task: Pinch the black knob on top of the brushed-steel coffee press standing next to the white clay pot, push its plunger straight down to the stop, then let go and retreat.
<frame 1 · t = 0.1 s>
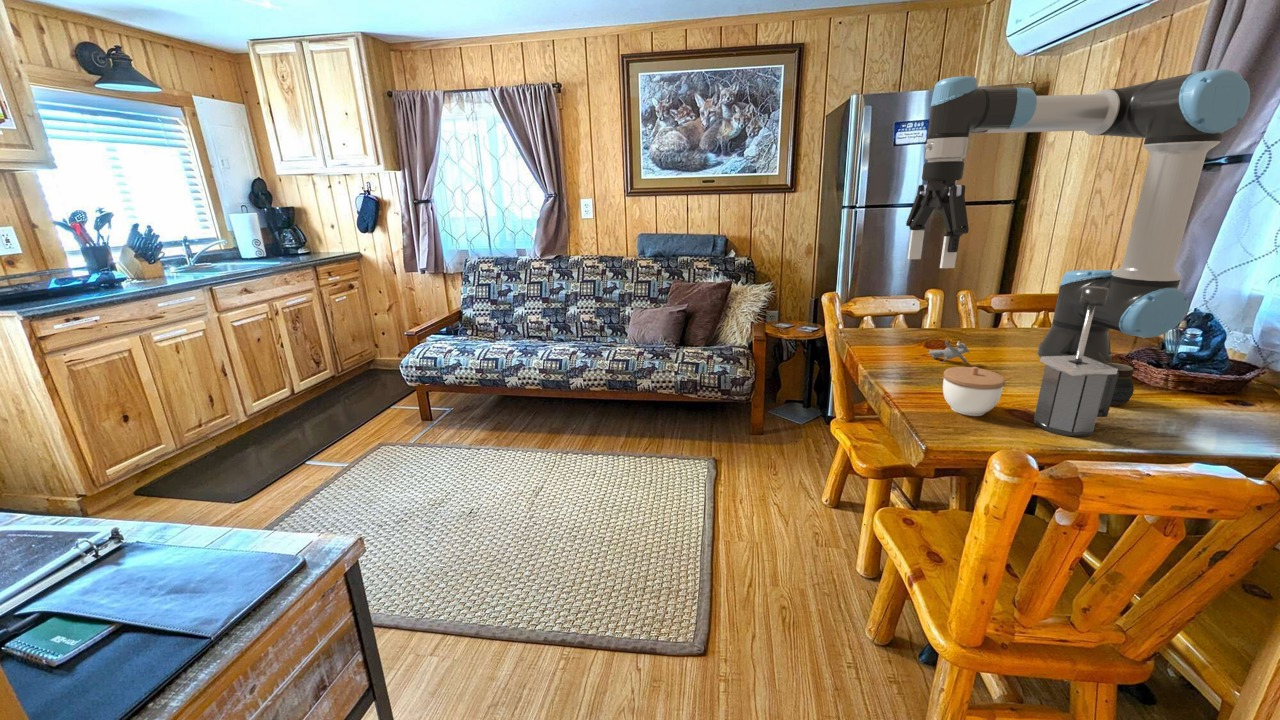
hand: (929, 263, 120), 28 cm above the table, fingers open, 13 cm apart
plunger: (1084, 337, 99), point 18 cm above the table, slide at 0.0 cm
grey animal figurine: (946, 363, 141), on the table
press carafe: (1062, 426, 104), on the table
lidded jar: (967, 411, 113), on the table
mate gourd: (1106, 402, 115), on the table
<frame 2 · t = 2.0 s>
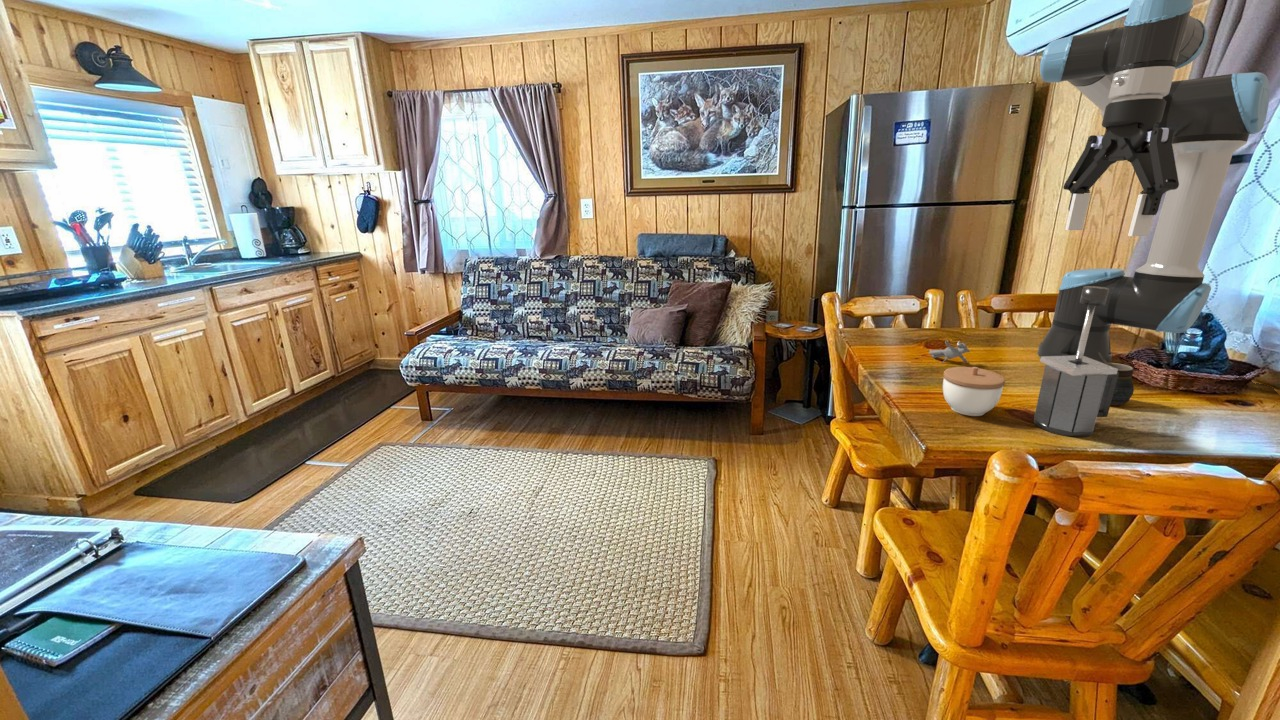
hand: (1103, 233, 95), 36 cm above the table, fingers open, 13 cm apart
nothing on the table moved.
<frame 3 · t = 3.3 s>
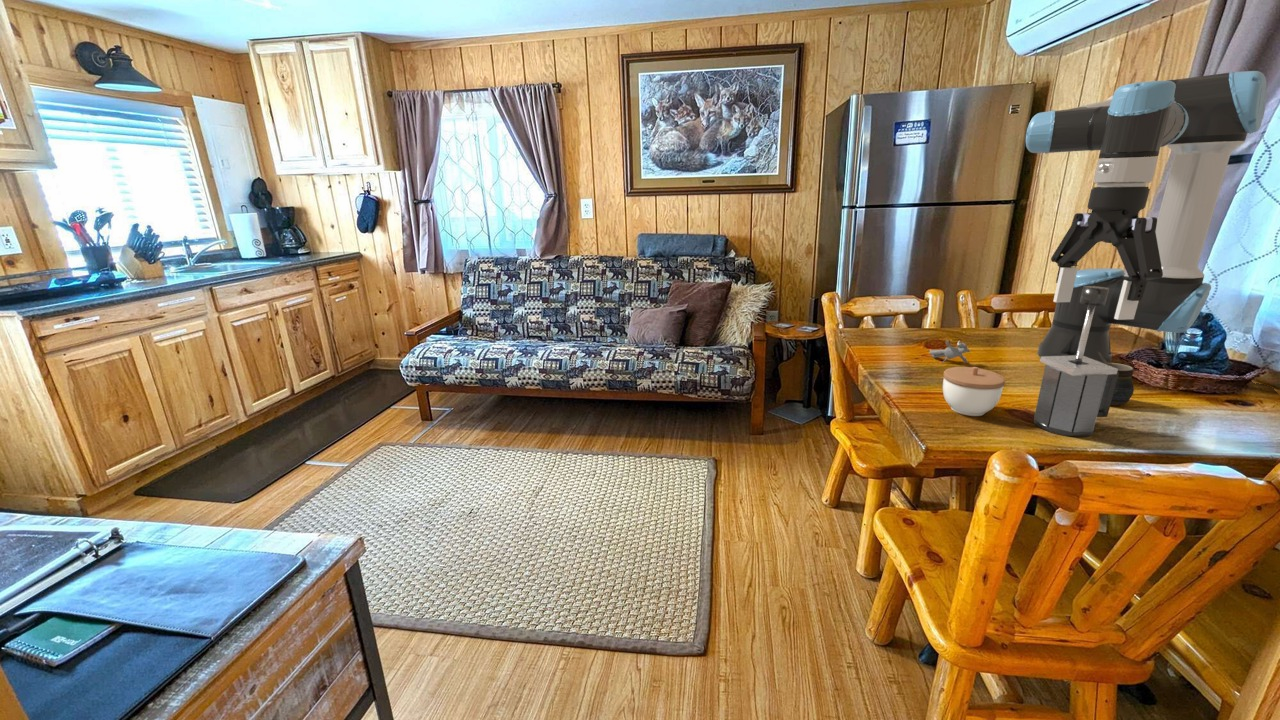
hand: (1090, 310, 97), 23 cm above the table, fingers open, 13 cm apart
nothing on the table moved.
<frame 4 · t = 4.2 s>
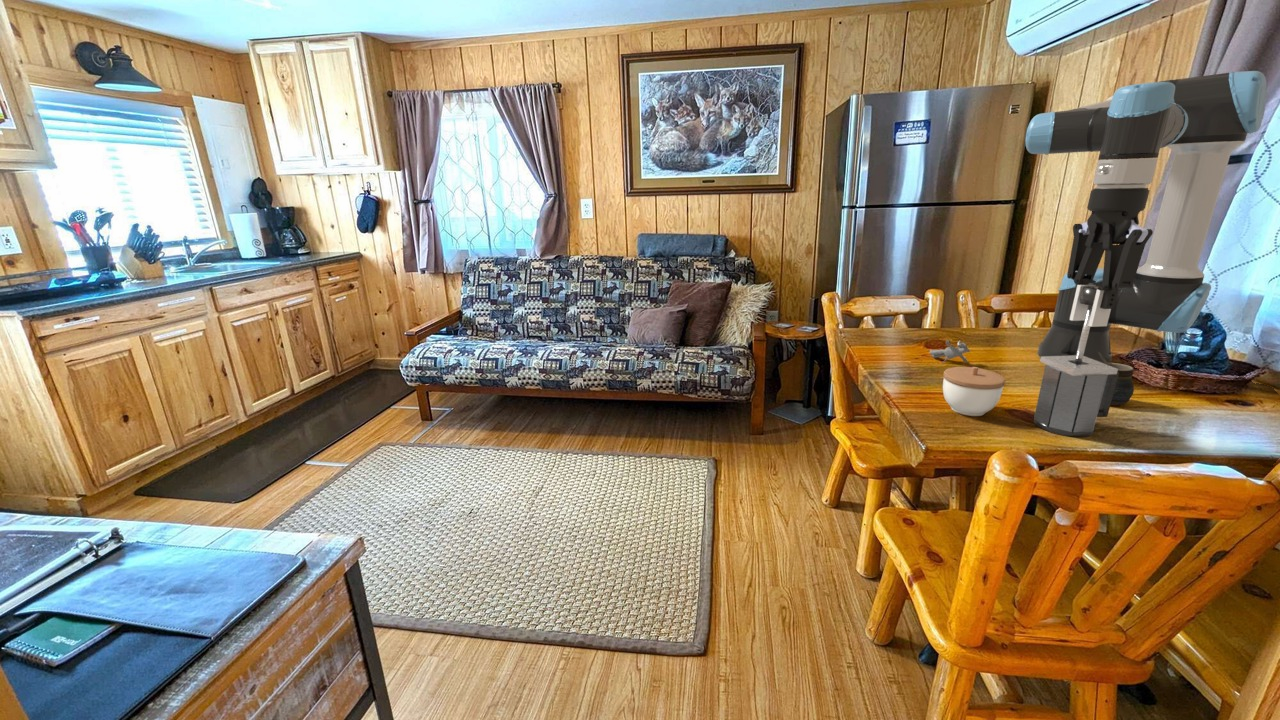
hand: (1087, 322, 98), 21 cm above the table, fingers closed on plunger, 4 cm apart
plunger: (1084, 337, 99), point 18 cm above the table, slide at 0.0 cm, touching gripper
everything else where it was.
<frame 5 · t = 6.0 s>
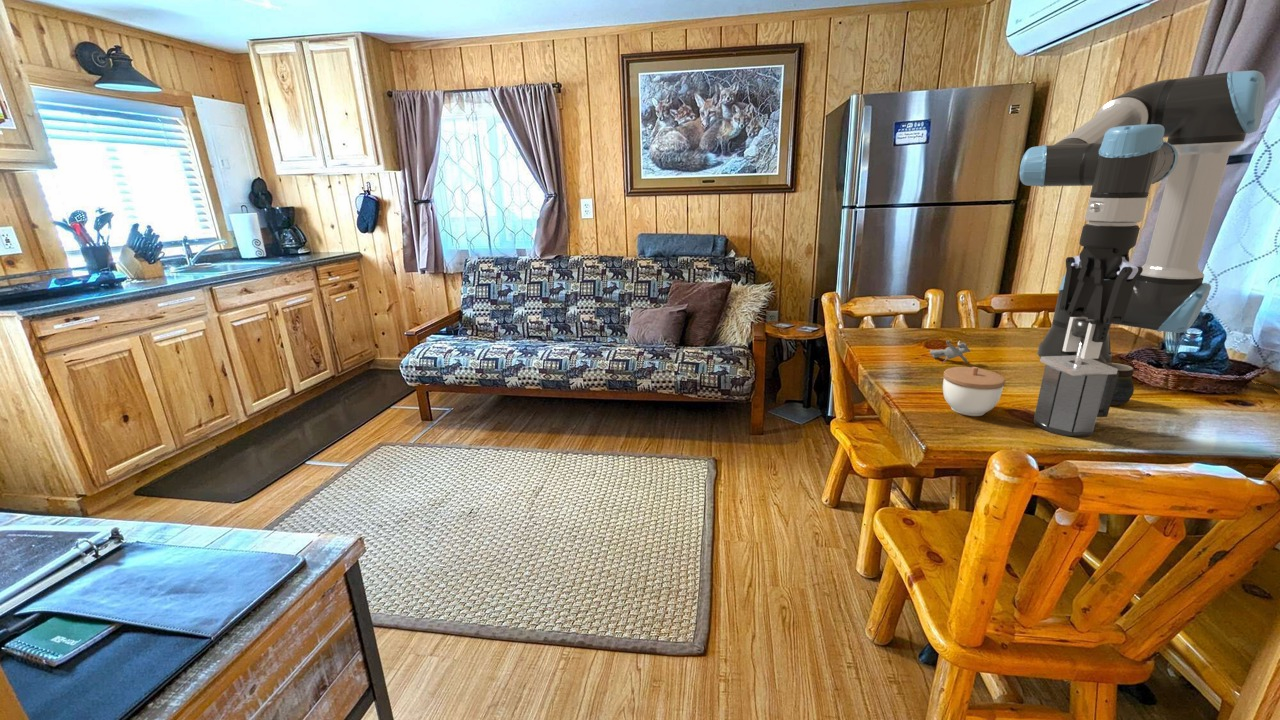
hand: (1080, 354, 100), 15 cm above the table, fingers closed on plunger, 4 cm apart
plunger: (1076, 368, 101), point 12 cm above the table, slide at 6.0 cm, touching gripper
everything else where it was.
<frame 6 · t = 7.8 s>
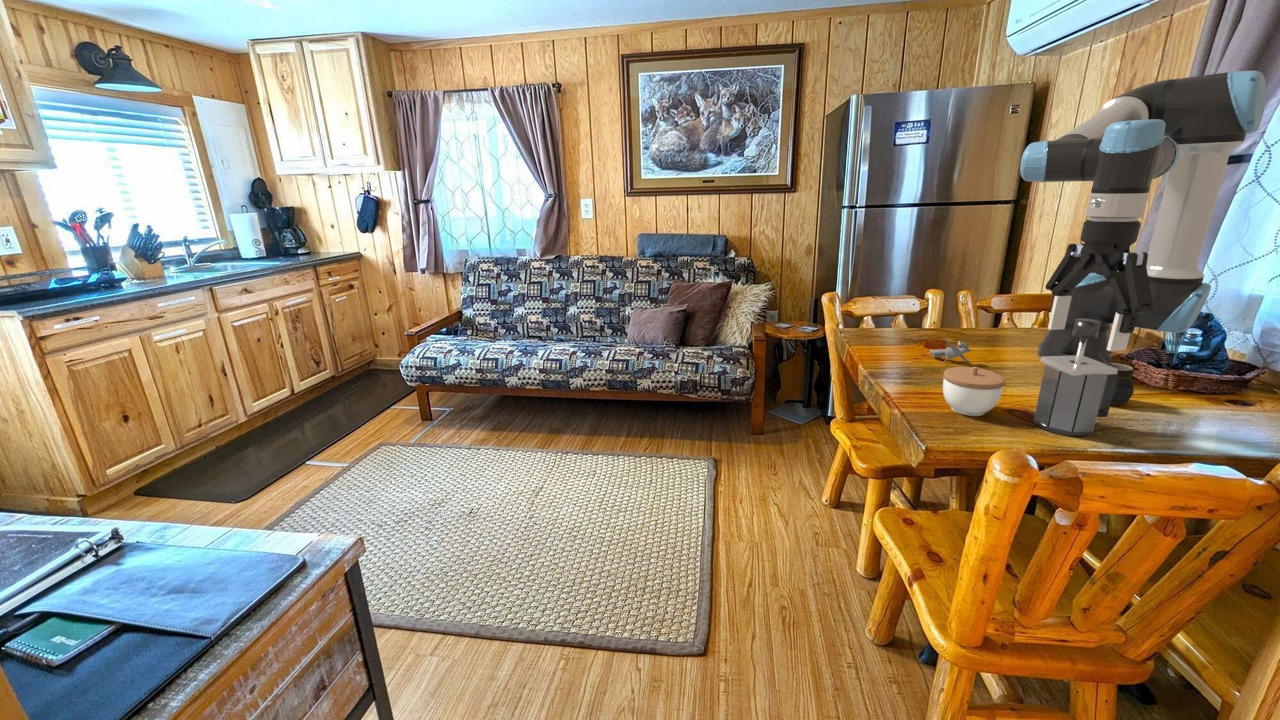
hand: (1084, 339, 99), 17 cm above the table, fingers open, 13 cm apart
plunger: (1076, 368, 101), point 12 cm above the table, slide at 6.0 cm
everything else where it was.
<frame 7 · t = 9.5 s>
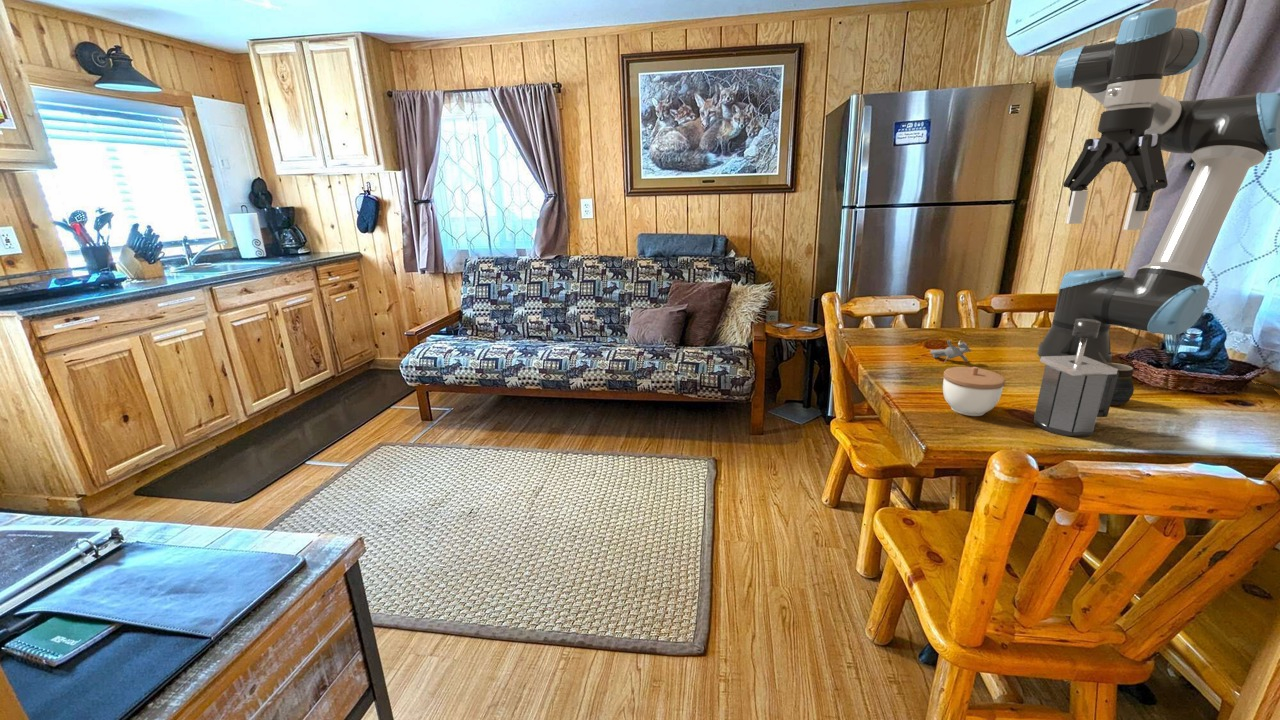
hand: (1101, 226, 107), 36 cm above the table, fingers open, 13 cm apart
nothing on the table moved.
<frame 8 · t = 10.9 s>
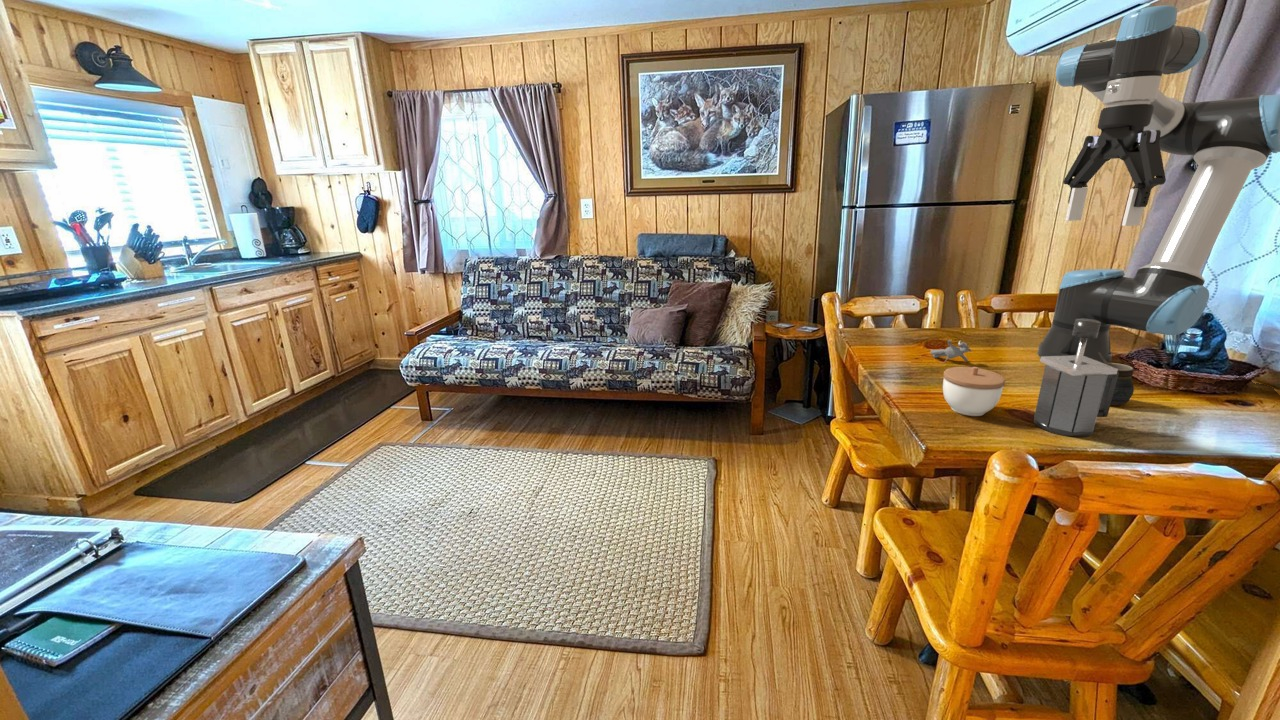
hand: (1100, 223, 107), 37 cm above the table, fingers open, 13 cm apart
nothing on the table moved.
at the end: plunger slide at 6.0 cm; the gripper is holding nothing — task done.
